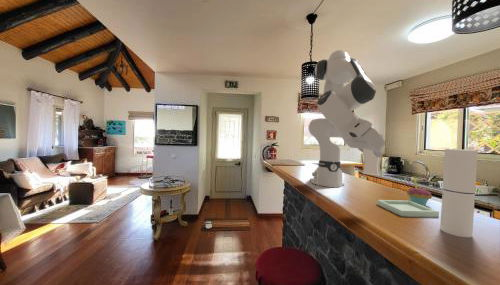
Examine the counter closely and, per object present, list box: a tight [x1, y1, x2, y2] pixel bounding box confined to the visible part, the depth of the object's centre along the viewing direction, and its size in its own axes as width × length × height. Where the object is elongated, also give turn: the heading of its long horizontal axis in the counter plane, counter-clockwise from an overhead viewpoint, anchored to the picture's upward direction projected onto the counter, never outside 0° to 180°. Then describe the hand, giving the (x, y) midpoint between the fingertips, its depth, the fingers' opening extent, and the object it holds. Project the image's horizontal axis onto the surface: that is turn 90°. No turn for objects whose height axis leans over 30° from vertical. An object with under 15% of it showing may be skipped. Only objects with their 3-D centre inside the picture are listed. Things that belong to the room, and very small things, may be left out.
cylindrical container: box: [439, 148, 479, 238], centre depth 67 cm, size 7×7×25 cm
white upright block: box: [362, 133, 384, 176], centre depth 85 cm, size 7×7×15 cm
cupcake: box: [406, 177, 433, 207], centre depth 97 cm, size 9×8×12 cm
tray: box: [376, 199, 440, 218], centre depth 87 cm, size 14×14×2 cm
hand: (374, 155), depth 85 cm, fingers closed on white upright block, 6 cm apart
